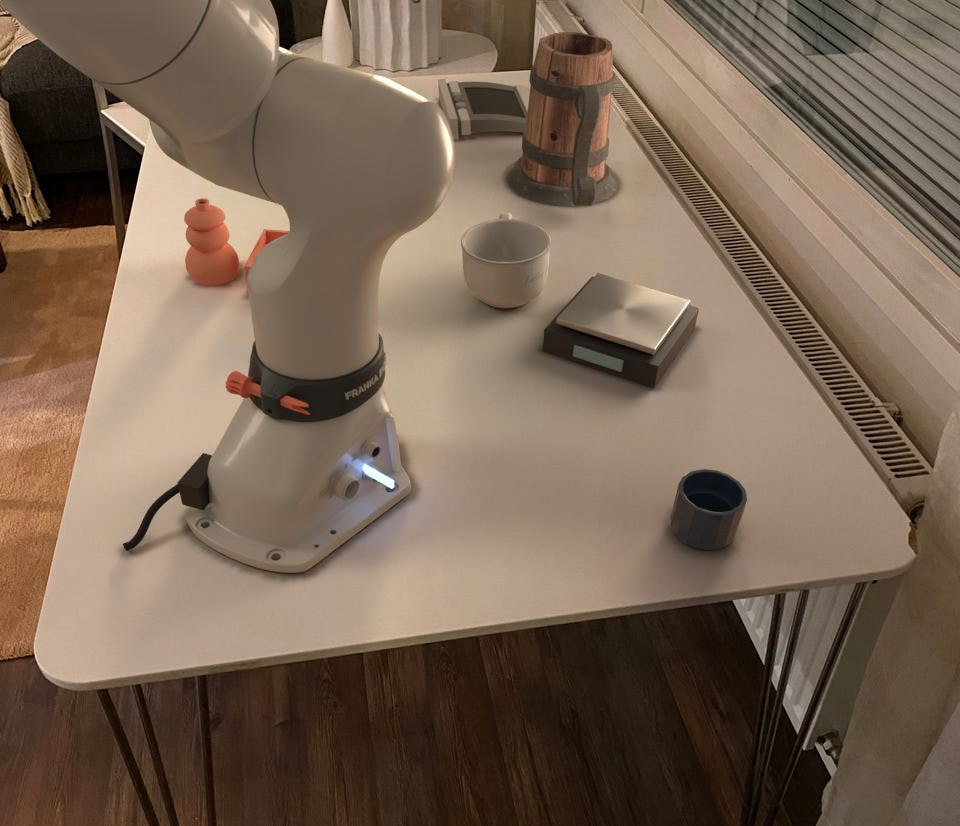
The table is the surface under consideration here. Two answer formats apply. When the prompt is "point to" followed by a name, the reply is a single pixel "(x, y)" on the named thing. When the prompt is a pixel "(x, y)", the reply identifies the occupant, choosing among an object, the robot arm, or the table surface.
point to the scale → (618, 349)
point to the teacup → (505, 261)
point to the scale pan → (624, 313)
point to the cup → (708, 509)
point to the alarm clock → (483, 106)
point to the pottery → (216, 246)
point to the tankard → (567, 123)
